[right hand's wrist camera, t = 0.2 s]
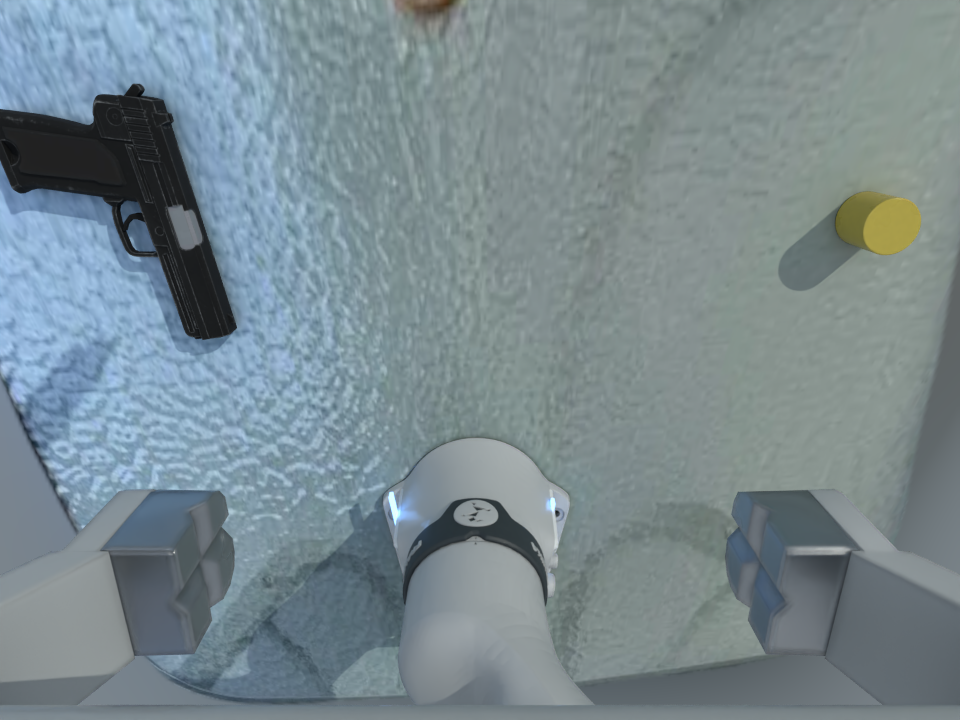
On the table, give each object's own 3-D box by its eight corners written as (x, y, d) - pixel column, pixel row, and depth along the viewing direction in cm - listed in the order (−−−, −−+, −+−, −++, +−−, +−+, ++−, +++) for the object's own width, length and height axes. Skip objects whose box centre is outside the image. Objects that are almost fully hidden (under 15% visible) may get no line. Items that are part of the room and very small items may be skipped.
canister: (858, 181, 55) (888, 187, 50) (899, 207, 55) (933, 214, 51) (824, 229, 56) (851, 239, 52) (865, 253, 57) (895, 265, 53)
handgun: (83, 360, 58) (233, 337, 57) (-24, 108, 50) (147, 76, 49) (102, 348, 60) (245, 326, 59) (3, 108, 53) (165, 77, 51)
